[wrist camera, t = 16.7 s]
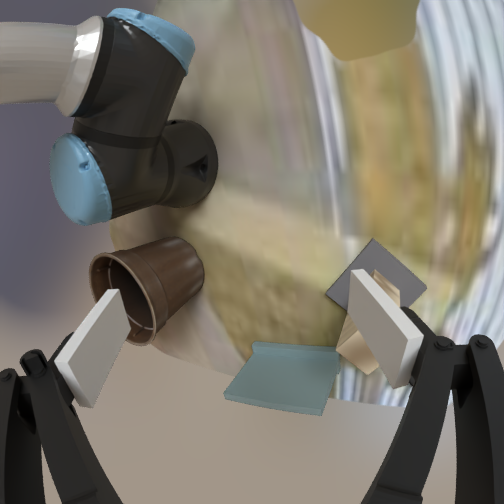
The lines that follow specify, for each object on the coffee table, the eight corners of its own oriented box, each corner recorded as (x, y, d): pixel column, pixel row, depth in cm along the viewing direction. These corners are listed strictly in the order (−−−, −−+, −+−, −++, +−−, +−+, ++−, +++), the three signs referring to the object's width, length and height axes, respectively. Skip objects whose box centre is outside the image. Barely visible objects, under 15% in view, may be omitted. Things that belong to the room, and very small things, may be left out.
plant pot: (152, 290, 61) (98, 325, 48) (146, 220, 55) (81, 244, 42) (214, 313, 55) (161, 361, 42) (213, 233, 49) (147, 268, 36)
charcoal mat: (326, 290, 44) (325, 293, 43) (372, 238, 38) (372, 240, 37) (377, 332, 42) (377, 335, 41) (426, 285, 36) (427, 288, 36)
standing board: (255, 341, 53) (220, 385, 42) (339, 346, 46) (320, 401, 35) (259, 361, 55) (227, 406, 44) (340, 368, 47) (321, 422, 36)
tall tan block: (351, 293, 41) (333, 351, 29) (374, 269, 38) (366, 322, 26) (375, 313, 40) (365, 375, 28) (399, 290, 38) (400, 349, 26)
